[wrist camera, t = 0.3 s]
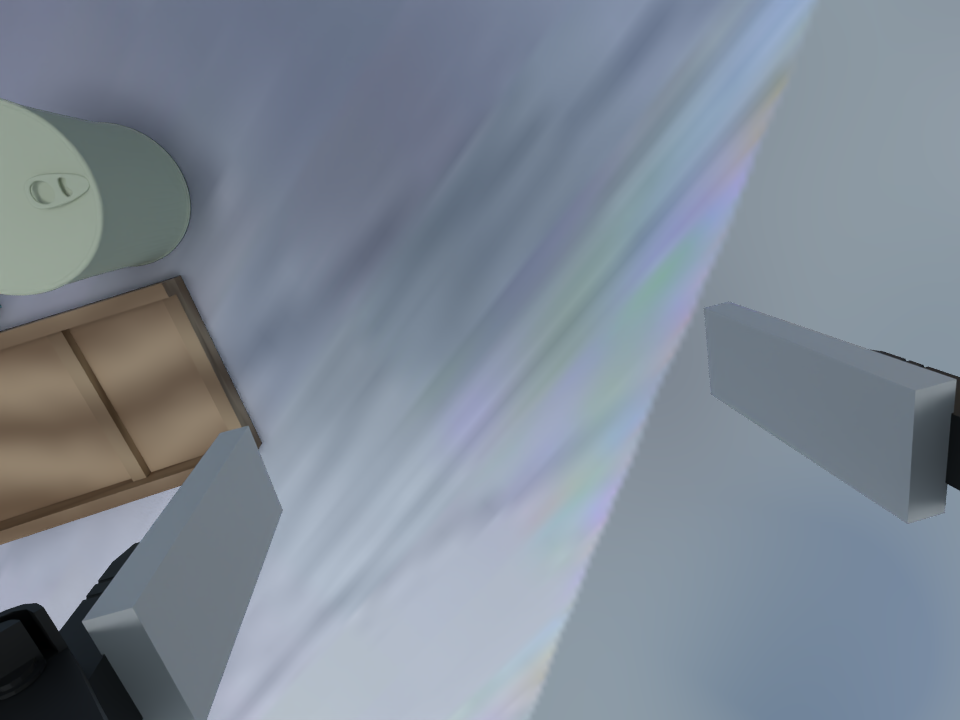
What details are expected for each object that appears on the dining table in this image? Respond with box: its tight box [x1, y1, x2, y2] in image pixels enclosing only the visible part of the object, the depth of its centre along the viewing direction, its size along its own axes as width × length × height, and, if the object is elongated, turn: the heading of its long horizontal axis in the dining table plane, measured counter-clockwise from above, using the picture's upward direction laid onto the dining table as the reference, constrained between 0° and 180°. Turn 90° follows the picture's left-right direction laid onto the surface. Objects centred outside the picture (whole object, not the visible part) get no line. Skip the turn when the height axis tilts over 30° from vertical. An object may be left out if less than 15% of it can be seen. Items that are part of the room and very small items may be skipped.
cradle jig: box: [0, 276, 262, 545], centre depth 38 cm, size 14×22×3 cm, turn 106°
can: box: [0, 98, 191, 295], centre depth 30 cm, size 9×9×12 cm
